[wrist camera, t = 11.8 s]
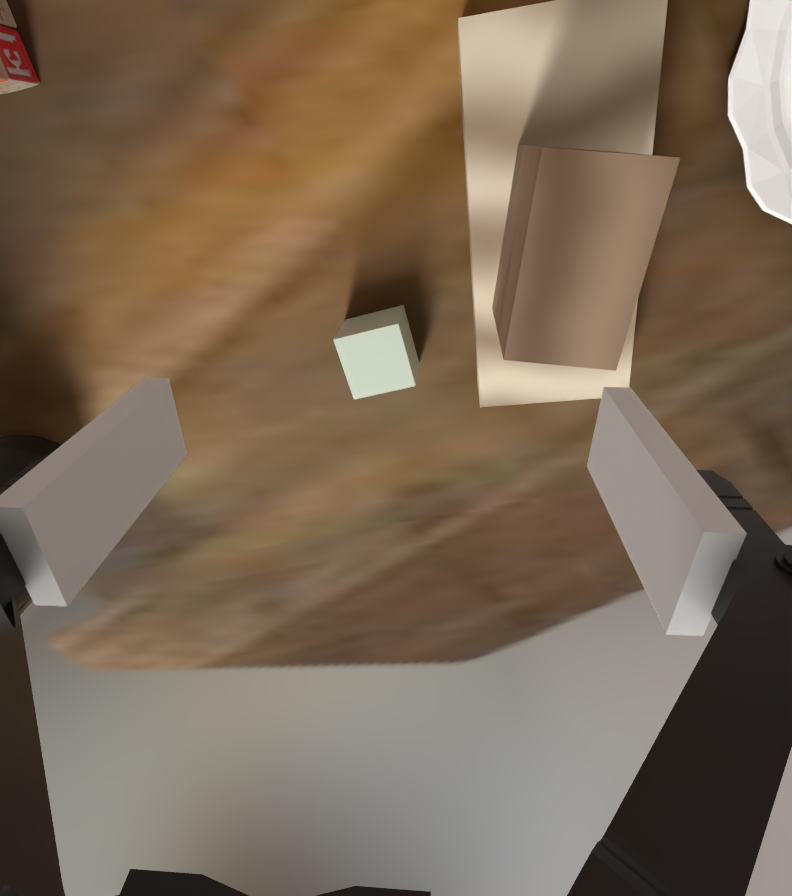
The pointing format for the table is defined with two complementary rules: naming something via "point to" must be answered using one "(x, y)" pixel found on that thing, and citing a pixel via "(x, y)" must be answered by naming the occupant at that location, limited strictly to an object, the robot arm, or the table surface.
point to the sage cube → (377, 352)
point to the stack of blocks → (13, 56)
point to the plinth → (548, 144)
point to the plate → (765, 104)
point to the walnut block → (576, 252)
